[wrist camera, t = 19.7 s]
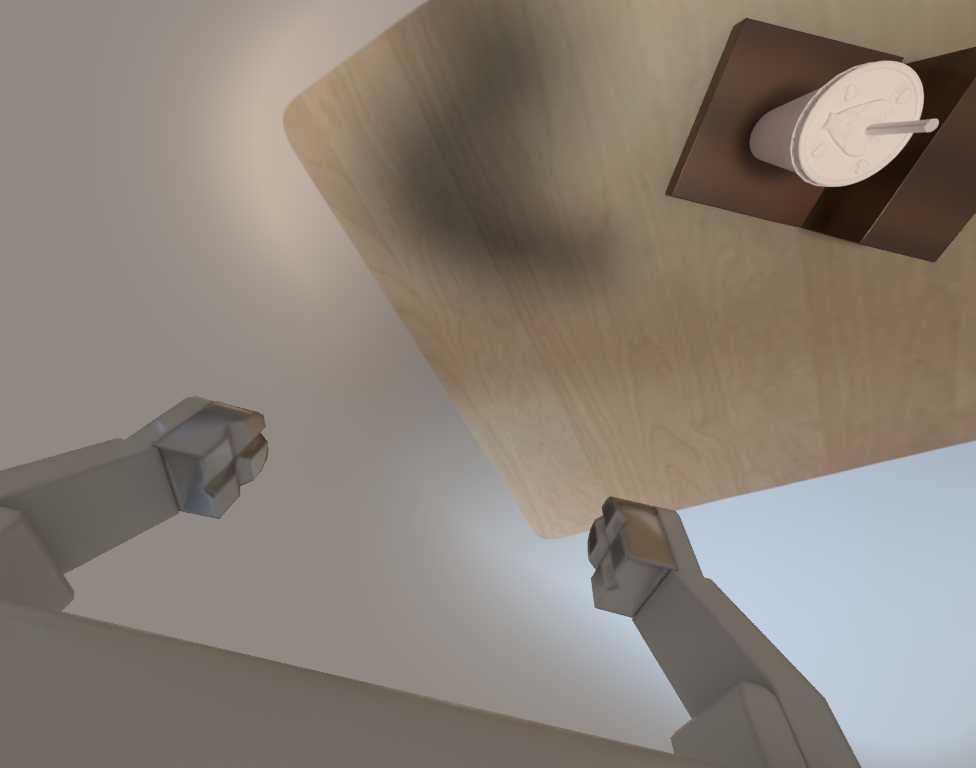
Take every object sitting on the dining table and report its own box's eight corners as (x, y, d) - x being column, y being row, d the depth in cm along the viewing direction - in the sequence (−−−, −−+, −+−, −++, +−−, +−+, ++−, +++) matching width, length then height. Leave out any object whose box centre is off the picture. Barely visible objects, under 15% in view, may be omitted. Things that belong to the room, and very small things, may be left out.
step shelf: (734, 25, 30) (792, -14, 23) (970, 84, 30) (1098, 63, 23) (664, 194, 36) (694, 203, 29) (860, 242, 36) (934, 262, 29)
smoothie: (790, 186, 33) (933, 205, 21) (716, 170, 33) (817, 180, 21) (839, 94, 29) (1043, 54, 18) (757, 77, 29) (905, 25, 18)
